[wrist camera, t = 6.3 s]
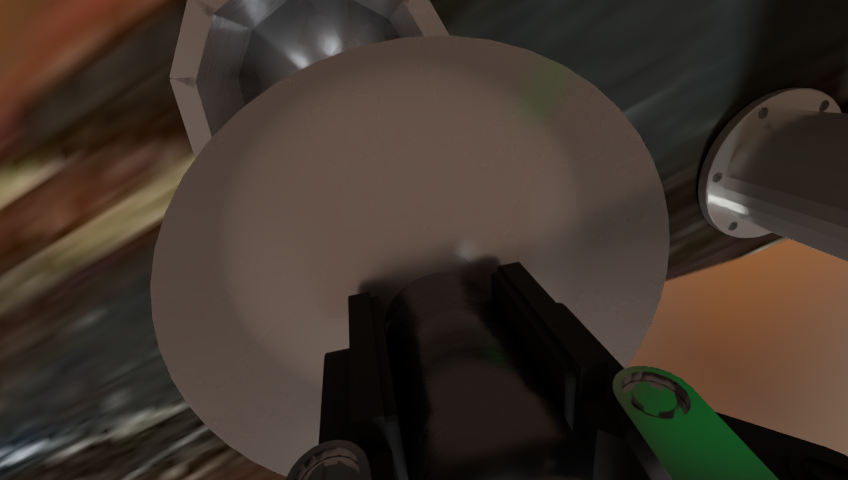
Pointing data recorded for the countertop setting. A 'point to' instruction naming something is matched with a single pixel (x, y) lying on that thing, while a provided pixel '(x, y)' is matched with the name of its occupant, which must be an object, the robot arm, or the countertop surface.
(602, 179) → the lid
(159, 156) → the countertop surface
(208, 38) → the pot
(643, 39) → the countertop surface
